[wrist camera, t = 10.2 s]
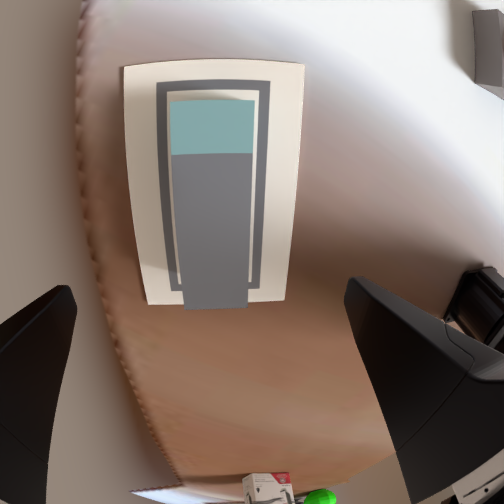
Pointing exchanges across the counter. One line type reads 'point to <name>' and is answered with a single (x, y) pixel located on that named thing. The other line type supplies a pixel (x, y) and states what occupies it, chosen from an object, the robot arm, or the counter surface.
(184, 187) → the teal-tipped grey block
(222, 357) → the counter surface
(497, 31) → the button housing
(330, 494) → the plastic bottle
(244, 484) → the ink box
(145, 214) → the paper sheet
